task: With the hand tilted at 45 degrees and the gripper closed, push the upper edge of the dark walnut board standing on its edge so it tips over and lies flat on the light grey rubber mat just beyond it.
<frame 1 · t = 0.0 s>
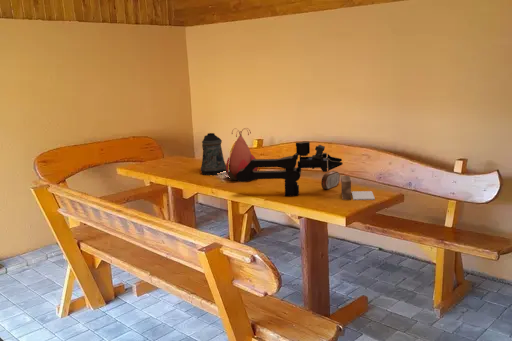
hand: (342, 161, 236), 17 cm above the table, tool horizontal, fingers open, 9 cm apart
mat: (362, 196, 234), on the table
tin: (331, 188, 253), on the table
decorative flower: (241, 179, 283), on the table
walnut board: (346, 196, 235), on the table
beer stein: (212, 173, 305), on the table
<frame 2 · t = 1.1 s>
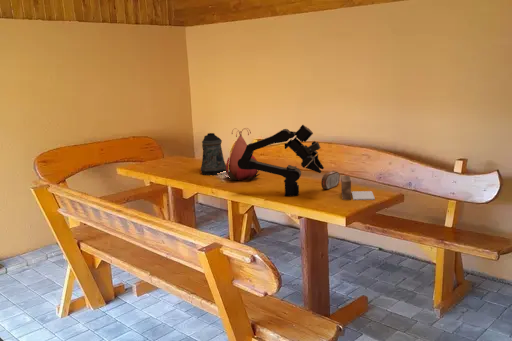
hand: (322, 170, 236), 13 cm above the table, tool tilted 45°, fingers open, 8 cm apart
nothing on the table moved.
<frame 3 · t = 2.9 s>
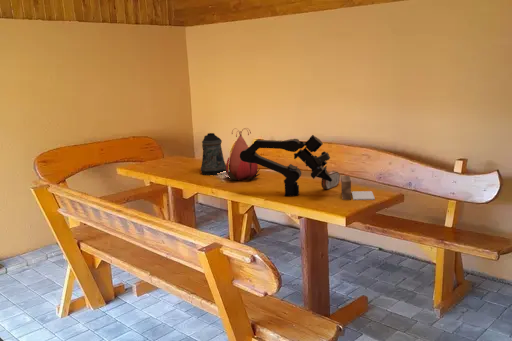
hand: (331, 180, 236), 8 cm above the table, tool tilted 45°, fingers closed
nothing on the table moved.
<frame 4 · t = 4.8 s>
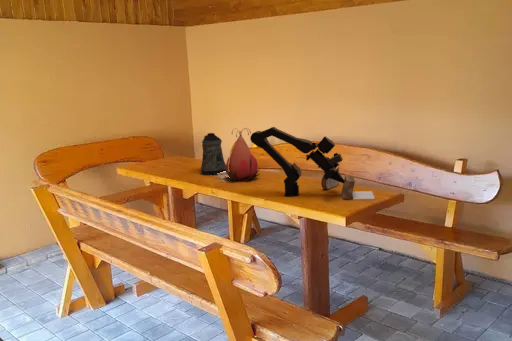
hand: (344, 182, 234), 7 cm above the table, tool tilted 45°, fingers closed
walnut board: (346, 195, 235), on the table, tilted 12°
everything else where it was.
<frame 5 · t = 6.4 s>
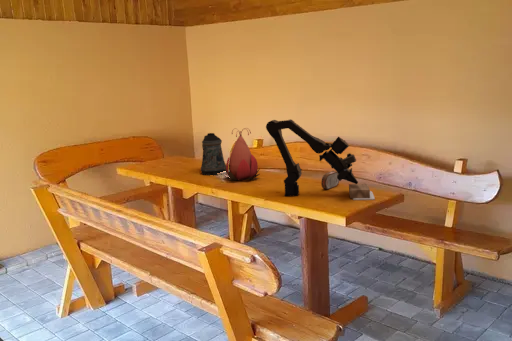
hand: (357, 183, 232), 7 cm above the table, tool tilted 45°, fingers closed
walnut board: (349, 191, 234), point 3 cm above the table, tilted 90°, touching mat
everything else where it was.
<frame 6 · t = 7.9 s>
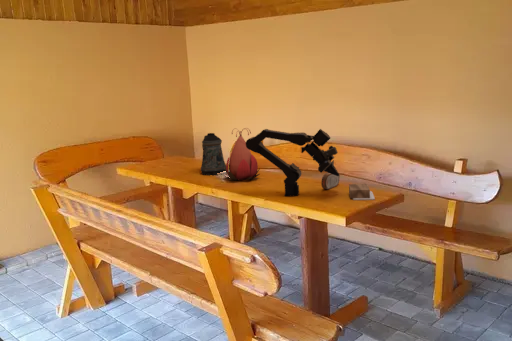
hand: (338, 175, 234), 10 cm above the table, tool tilted 45°, fingers closed
nothing on the table moved.
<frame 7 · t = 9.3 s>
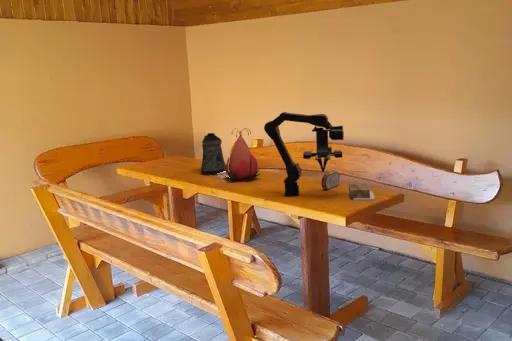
hand: (323, 171, 236), 12 cm above the table, tool pointing down, fingers closed
nothing on the table moved.
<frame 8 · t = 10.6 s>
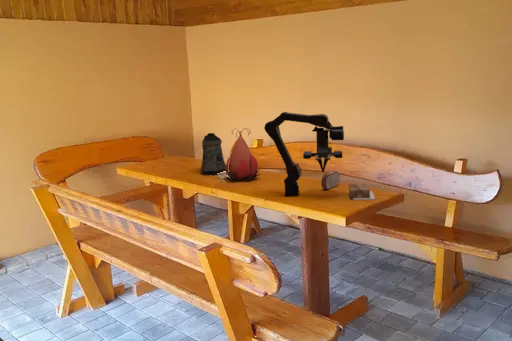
hand: (323, 171, 236), 12 cm above the table, tool pointing down, fingers closed
nothing on the table moved.
at the end: walnut board tilted 90°; walnut board touching mat; walnut board inside the target area (1.8 cm from its centre), point 2.6 cm above the table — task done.
